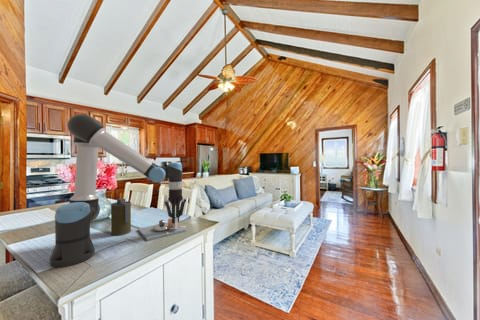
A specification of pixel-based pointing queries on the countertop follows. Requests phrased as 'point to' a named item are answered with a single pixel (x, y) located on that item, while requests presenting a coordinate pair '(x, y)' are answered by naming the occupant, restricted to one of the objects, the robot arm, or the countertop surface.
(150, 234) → the panel
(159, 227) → the dial
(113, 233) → the canister
